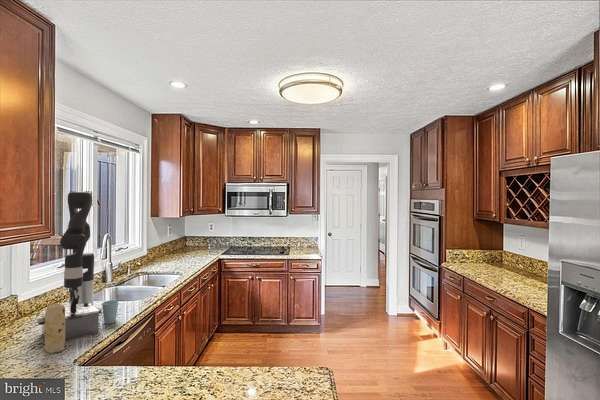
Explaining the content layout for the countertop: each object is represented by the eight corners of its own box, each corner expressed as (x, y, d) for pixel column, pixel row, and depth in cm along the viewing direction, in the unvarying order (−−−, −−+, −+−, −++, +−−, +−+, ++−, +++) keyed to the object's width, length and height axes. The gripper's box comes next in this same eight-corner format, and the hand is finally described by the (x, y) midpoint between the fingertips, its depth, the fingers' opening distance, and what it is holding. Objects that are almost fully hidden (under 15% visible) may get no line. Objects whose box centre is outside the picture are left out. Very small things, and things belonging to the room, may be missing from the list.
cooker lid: (41, 312, 171) (41, 307, 171) (89, 304, 185) (89, 299, 185) (49, 323, 155) (49, 318, 155) (100, 313, 169) (100, 308, 169)
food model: (69, 349, 153) (70, 303, 153) (53, 355, 147) (54, 308, 147) (55, 345, 157) (56, 301, 157) (39, 351, 151) (39, 305, 151)
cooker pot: (35, 334, 169) (35, 314, 169) (95, 322, 187) (95, 303, 186) (40, 346, 156) (41, 324, 156) (104, 331, 173) (104, 311, 173)
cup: (118, 318, 193) (118, 299, 193) (118, 322, 187) (118, 303, 186) (102, 320, 189) (102, 301, 189) (102, 325, 183) (102, 305, 183)
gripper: (61, 275, 169) (61, 311, 169) (67, 280, 159) (66, 318, 159) (79, 273, 174) (79, 308, 174) (86, 277, 165) (85, 314, 165)
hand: (73, 312), depth 167 cm, fingers closed
